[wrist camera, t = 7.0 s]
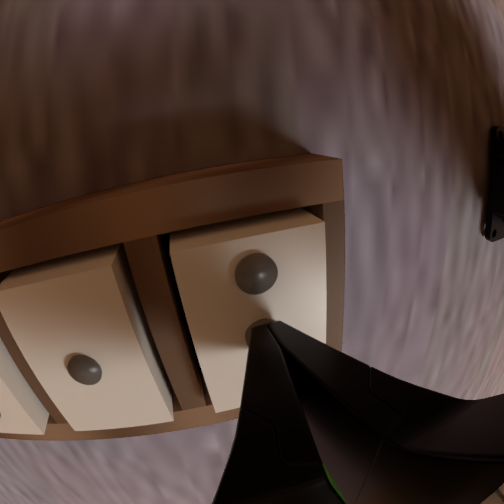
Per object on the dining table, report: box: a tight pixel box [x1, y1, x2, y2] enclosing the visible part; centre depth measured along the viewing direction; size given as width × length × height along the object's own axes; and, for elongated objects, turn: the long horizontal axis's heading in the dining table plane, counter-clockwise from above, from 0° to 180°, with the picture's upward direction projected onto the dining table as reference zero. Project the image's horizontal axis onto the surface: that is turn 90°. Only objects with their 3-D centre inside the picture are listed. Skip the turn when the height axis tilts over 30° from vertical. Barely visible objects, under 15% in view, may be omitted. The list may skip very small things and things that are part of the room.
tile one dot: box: [0, 242, 174, 431], centre depth 9 cm, size 4×6×2 cm, turn 7°
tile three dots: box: [170, 207, 327, 413], centre depth 10 cm, size 4×6×2 cm, turn 7°
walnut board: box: [0, 154, 345, 441], centre depth 9 cm, size 17×9×2 cm, turn 97°
